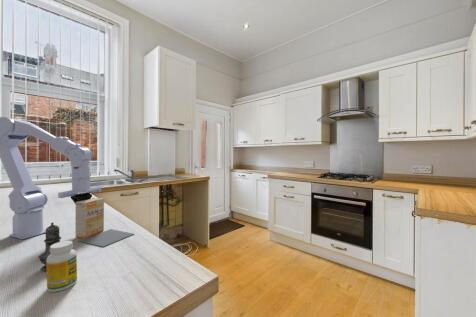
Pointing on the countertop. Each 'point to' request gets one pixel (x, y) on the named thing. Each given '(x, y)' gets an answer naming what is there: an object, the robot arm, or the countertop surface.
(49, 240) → the stone chess piece
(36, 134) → the robot arm
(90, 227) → the supplement box
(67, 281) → the supplement bottle
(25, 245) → the countertop surface
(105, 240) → the slate mat
